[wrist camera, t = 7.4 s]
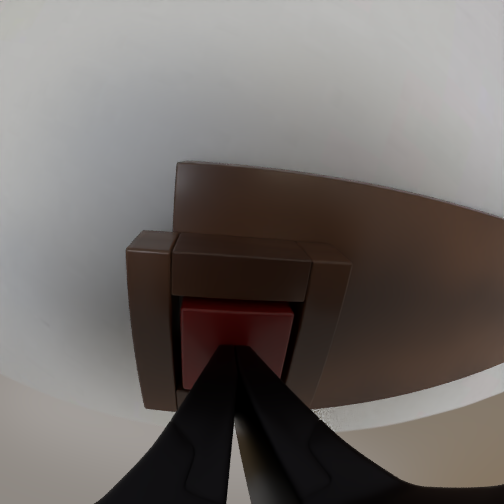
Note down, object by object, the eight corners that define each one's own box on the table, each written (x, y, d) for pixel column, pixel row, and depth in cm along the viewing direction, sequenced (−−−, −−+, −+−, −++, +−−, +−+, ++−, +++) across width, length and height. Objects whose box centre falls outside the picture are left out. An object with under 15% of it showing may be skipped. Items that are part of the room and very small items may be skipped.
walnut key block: (495, 345, 16) (523, 371, 13) (162, 375, 13) (151, 439, 9) (536, 230, 13) (573, 246, 9) (159, 159, 10) (125, 163, 6)
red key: (269, 358, 10) (277, 392, 8) (186, 355, 10) (182, 390, 8) (282, 285, 9) (295, 313, 8) (186, 280, 9) (179, 308, 7)
